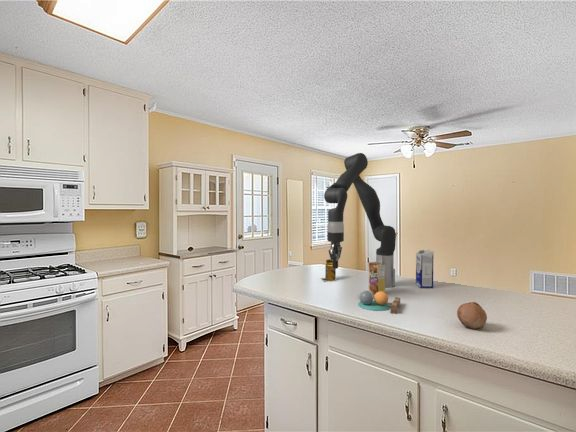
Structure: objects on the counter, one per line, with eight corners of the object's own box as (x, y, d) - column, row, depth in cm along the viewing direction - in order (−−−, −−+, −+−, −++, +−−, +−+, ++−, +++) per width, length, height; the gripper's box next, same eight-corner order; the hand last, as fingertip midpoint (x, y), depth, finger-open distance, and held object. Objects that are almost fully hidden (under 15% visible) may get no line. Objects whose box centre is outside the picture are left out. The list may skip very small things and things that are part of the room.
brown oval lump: (473, 332, 120) (479, 306, 122) (489, 335, 110) (495, 307, 113) (449, 322, 120) (455, 296, 122) (463, 324, 111) (469, 297, 113)
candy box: (368, 291, 165) (368, 261, 165) (375, 290, 167) (375, 261, 166) (377, 296, 157) (378, 265, 156) (385, 295, 158) (385, 264, 158)
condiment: (337, 281, 188) (337, 260, 187) (323, 281, 187) (323, 261, 186) (334, 278, 195) (334, 258, 195) (320, 278, 194) (320, 259, 193)
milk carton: (433, 288, 171) (433, 251, 171) (420, 288, 171) (421, 251, 171) (427, 285, 178) (428, 249, 178) (415, 284, 179) (416, 249, 178)
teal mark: (380, 299, 150) (380, 299, 150) (397, 309, 136) (397, 308, 136) (352, 302, 147) (352, 301, 147) (367, 311, 133) (367, 311, 133)
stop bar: (395, 303, 144) (395, 297, 144) (400, 304, 143) (400, 297, 143) (390, 313, 132) (390, 305, 132) (395, 313, 131) (395, 306, 131)
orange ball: (389, 299, 145) (376, 293, 148) (390, 292, 141) (377, 286, 143) (384, 309, 142) (371, 304, 144) (385, 303, 137) (372, 297, 140)
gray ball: (374, 297, 146) (361, 291, 148) (376, 292, 141) (363, 286, 143) (369, 309, 143) (356, 302, 145) (371, 304, 138) (358, 298, 140)
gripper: (332, 230, 156) (332, 265, 157) (323, 232, 144) (322, 270, 145) (347, 230, 153) (347, 266, 153) (339, 232, 141) (338, 271, 142)
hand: (335, 268), depth 149 cm, fingers closed
